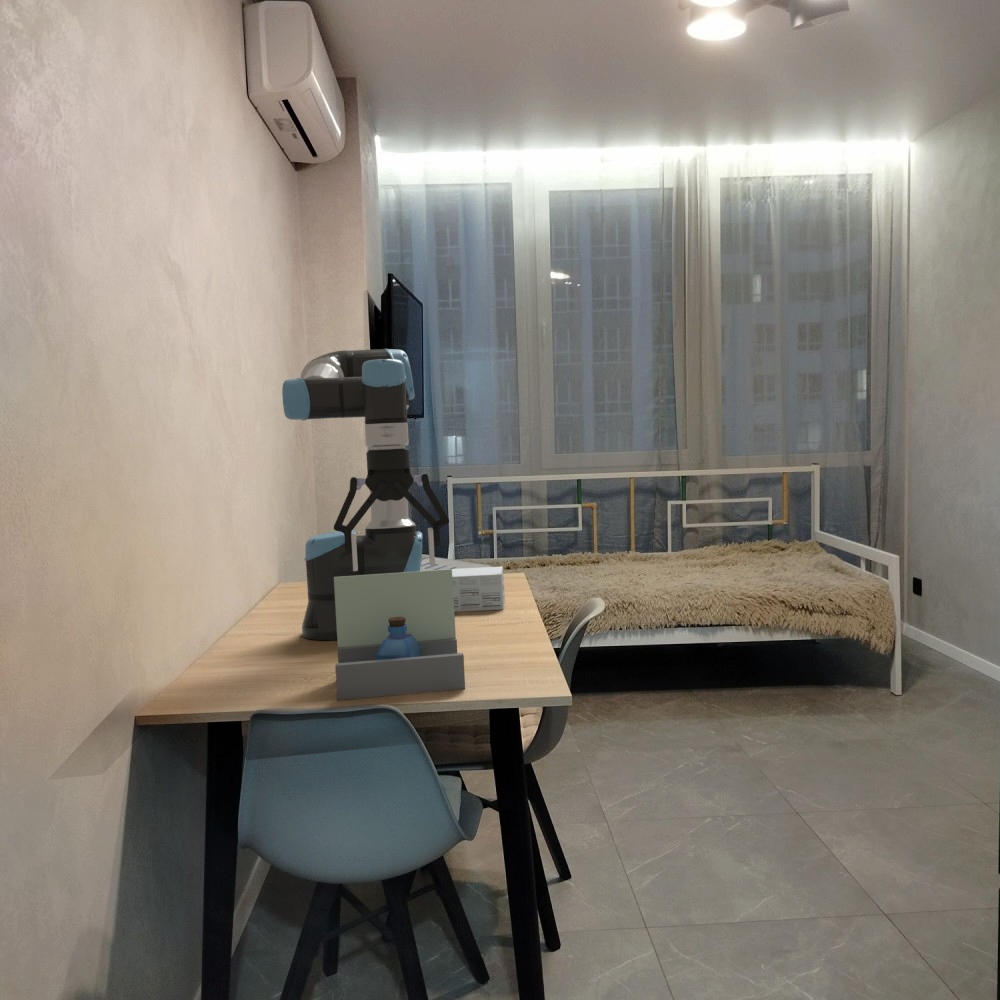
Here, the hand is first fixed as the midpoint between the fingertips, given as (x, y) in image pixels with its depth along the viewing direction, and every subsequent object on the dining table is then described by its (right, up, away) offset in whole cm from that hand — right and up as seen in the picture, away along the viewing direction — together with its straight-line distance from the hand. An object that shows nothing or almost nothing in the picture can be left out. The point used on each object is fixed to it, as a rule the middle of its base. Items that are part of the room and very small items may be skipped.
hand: (394, 567), depth 153 cm
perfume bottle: (+1, -21, +2) cm, 22 cm away
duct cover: (-1, -8, +8) cm, 12 cm away
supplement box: (+12, -16, +70) cm, 73 cm away
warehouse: (+2, -14, +97) cm, 98 cm away
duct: (+1, -21, +2) cm, 21 cm away
